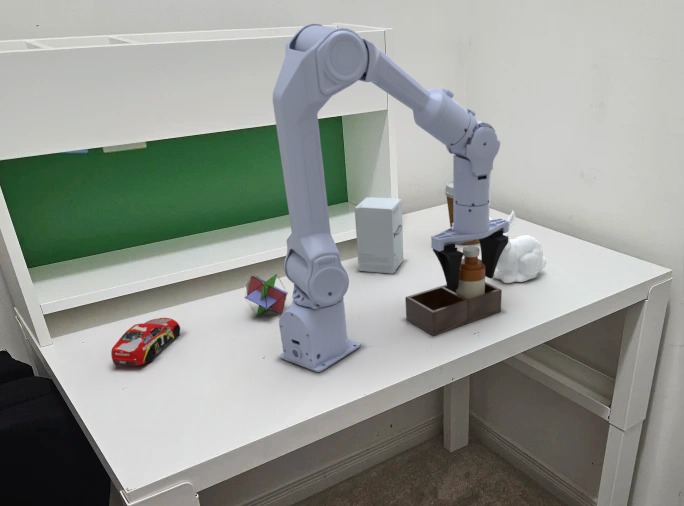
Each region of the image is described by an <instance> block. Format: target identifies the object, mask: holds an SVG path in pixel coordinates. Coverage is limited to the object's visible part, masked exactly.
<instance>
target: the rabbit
mask: <svg viewBox="0 0 684 506" xmlns="http://www.w3.org/2000/svg"><path fill="white" fill-rule="evenodd" d="M515 214H516V213H515V211H514V210H512V211H511V213H510V214H509V216H508V217H507V218H506V220H507V221H509V228H508V232H507V233H503V235H505V236H507V237H508V244H507V245H506V246H505V248H504V250H503V251H502V253H501V255H500V258H499V260H498V263H497V266H496V269H498V270H499V271H497V272H496V273H495V274H494V279H495V280H501V282H503V283H504V284H512V283H515V282H517V283H524V282H526V281H530V280H533V279H535V278H536V277H537V275H538V274H539V273H540V272H541V271H543V270H544V269H545V267H546V265H547V260H548V259H547V258H546V257H545V256H544V252H543V247H542V245H541V242H540V241H538V240H537V239H536V238H535V237H533V236H531V235H528V234H527V235H526V234H524V235H519V236H516V237H515V238H512V239H511V238H509V230H511V229H512V228H513V227H514V226H515V225H516V222H517V217H516V215H515ZM489 220H493V218H492V217H491V215H490V214H489Z"/></svg>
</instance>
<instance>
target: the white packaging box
mask: <svg viewBox="0 0 684 506" xmlns="http://www.w3.org/2000/svg"><path fill="white" fill-rule="evenodd" d="M402 205H403V204H402V198H395V197H394V198H393V197H373V196H372V197H371V196H367V197H365V198H364V199H362V201H360V202H359V203H358V204H357V205H356V206H355V207H354V221H355V233H356V235H355V236H356V245H357V246H356V249H357V261H358V262H357V263H358V271H360V272H370V273H379V274H380V273H381V274H392V275H393V274H395V273H396V271H397V269H398V268H399V267H400V266H401V264H402V263H403V262H404V234H403V232H404V231H403V207H402Z"/></svg>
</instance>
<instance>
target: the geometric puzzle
mask: <svg viewBox="0 0 684 506" xmlns="http://www.w3.org/2000/svg"><path fill="white" fill-rule="evenodd" d="M270 275H273V276H272V277H270V278H269V279H267V280H264V279H263V278H261V277H259V276H260V275H250V278H249V279H248V280H247V283H246V284H245V287H246V288H245V289H246V294H245V296H244V298H243V299H245V301H246V302H247V303H248V305H250V308H251V310H252V311H253V313H255V309H254V308H253V305H252V303H254V304H256V305H258V307H257V312H256V315H255V317H256V318H257V317H259V316H260V315H261V314H262V313H264V312H266V311H267V310H268V311H270V312H273V313H274V312H275V316H277V315H282V314H283V313H284V308H285V304H286V300H287V296H288V294H289V292H288V291H286V290H284V289H286V287H285V286H284V284H283V282H282V281H281V278H280V277H279V275H278V273H275V274H270ZM277 277H278V280H279V282H280V284H281V286H282V288H283V289H281V288H279V287H277V286H276V280H277ZM248 301H249V302H248ZM251 302H252V303H251ZM249 303H250V304H249ZM265 316H266V317H267V315H265V314H264V315H263V317H265Z"/></svg>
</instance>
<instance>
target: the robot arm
mask: <svg viewBox="0 0 684 506" xmlns="http://www.w3.org/2000/svg"><path fill="white" fill-rule="evenodd" d="M358 81H361V82H364V83H372V84H373V85H374V86H376V87H378V88H379V89H380V90H382V91H384V92H385V93H387V94H388V95H390V96H391V97H392V98H394V99H395V100H397V101H398V102H400V103H401V104H403V105H404V106H405V107H407V108H409V109H410V110H412V113H413V115H412V116H413V120H414V123H415V124H416V126H418V127H419V128H421V129H422V130H423V131H425V132H426V133H428V134H429V135H430V136H432V137H433V138H435V140H437V141H439V142H440V143H441V144H443V145H444V146H445V147H446V150H447V152H448V153H449V154H451V155H452V156H453V159H452V160H453V163H452V164H453V165H452V166H453V169H452V170H453V175H452V176H453V180H454V196H453V200H454V201H453V223H452V227H449V228H447V229H445V230H444V231H441V232H440V233H437V234H435V235H431V236H430V239H431V241H430V242H431V246H430V247H431V249H432V252H433V253H434V254H435V256H436V258H437V260H438V262H439V264H440V266H441V269H442V272H443V276H444V279H445V282H446V284H447V287H449V288H451V289H453V290H456V289H458V286H459V270H460V265H461V261H462V259H463V258H464V253H463V251H461V250H458V247H456V246H458V245H462V244H461V243H465V242H468V241H472V240H475V239H479V242H478V243H479V246H480V247H479V249H480V254H481V255H480V256H481V259H480V260H481V261H482V263H483V264H484V265H485V278H488V279H493V278H494V277H495V272H496V269H497V268H496V266H497V263H498V260H499V258H500V255H501V253H502V251H503V250H504V248H505V246H506V245H507V244H508V238H509V237H507V236H505V235H503V233H507V232H508V233H509V231H508V228H509V221H507V219H504V218H501V217H500V218H495V219H492V220H489V215H490V213H491V211H490V209H491V181H492V179H491V177H492V176H491V175H492V171H493V169H494V161H495V158H496V157H497V155H498V154H499V151H500V147H501V141H500V140H498V134H497V133H496V130H495V128H494V127H493V126H492V125H491V124H490V123H488V122H484V121H480V120H477V118H476V114H477V113H476V112H475V111H474V110H472V109H470V108H465V107H464V106H462V105H461V104H460V103H458V102H457V101H456V100H455V99H453V98H454V96H455V94H454V93H453V92H452V91H451V90H450V89H448V88H442V89H441V88H440V87H433V88H430V89H429V88H428V89H426V88H425V87H424V86H423V85H422V84H420V83H419V82H418V81H417V80H416V79H414V77H412V76H411V75H410V74H409V73H408V72H406V70H404V69H403V68H402V67H401V66H400V65H398V64H397V63H396V62H395V61H394V60H393V59H392V58H391V57H389V56H388V55H387V54H386V53H385V52H384V51H383V50H381V49H380V48H379V47H378V46H376V44H375V43H373V42H371V41H369V40H368V39H366V38H363V37H361V36H360V35H359V34H358V33H357V32H356V31H355V30H353V29H351V28H348V27H344V26H343V27H340V26H339V27H333V26H324V25H323V24H319V23H309V24H306V25H303V26H302V27H301V28H300V29H298V31H296V33H295V34H293V36H292V37H290V39H289V40H288V41H287V42H286V43H285V57H284V60H283V62H282V65H281V68H280V71H279V74H278V77H277V79H276V82H275V85H274V88H273V91H272V106H273V112H274V119H275V125H276V133H277V140H278V141H277V142H278V147H279V154H280V160H281V161H280V163H281V167H282V175H283V183H284V189H285V195H286V196H285V197H286V203H287V209H288V216H289V223H290V230H291V231H290V232H291V234H290V235H289V236H288V237H287V239H286V255H285V258H284V261H283V271H284V275H285V276H286V278H287V279H288V281H290V282H291V283H292V284H293V290H292V302H291V304H290V305H289V306H288V308H287V309H286V310H285V311H283V312H282V314H280V317H279V320H278V325H279V333H280V339H281V346H282V353H281V354H279V357H280V359H282V360H284V361H287V362H290V363H292V364H295V365H298V366H300V367H303V368H305V369H308V370H311V371H313V372H317V373H320V372H322V371H324V370H326V369H327V368H329V367H330V366H332V365H334V364H336V363H338V362H339V361H341V360H342V359H343V358H345V357H346V356H348V355H349V354H351V353H353V352H354V351H356V350H357V349H359V348H360V347H361V343H360V342H357V341H355V340H351V339H348V332H347V331H348V330H347V320H346V319H347V318H346V309H345V300H344V299H345V298H344V296H345V295H346V294H347V292H348V289H349V285H350V279H349V275H348V272H347V270H346V269H345V268H344V266H343V264H342V262H341V261H342V260H341V254H340V251H339V249H338V246H337V244H336V242H335V240H334V238H333V236H332V232H331V225H330V223H331V222H330V214H329V207H328V197H327V189H326V180H325V169H324V162H323V153H322V144H321V135H320V126H319V125H320V124H319V116H318V114H319V112H320V110H322V108H323V107H324V106H325V105H326V104H327V102H328V101H329V100H330V99H331V98H332V97H333V96H335V95H336V94H339V93H341V92H342V91H343V90H346V89H347V88H349V87H352V86H353V85H354V84H355V83H357V82H358Z"/></svg>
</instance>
